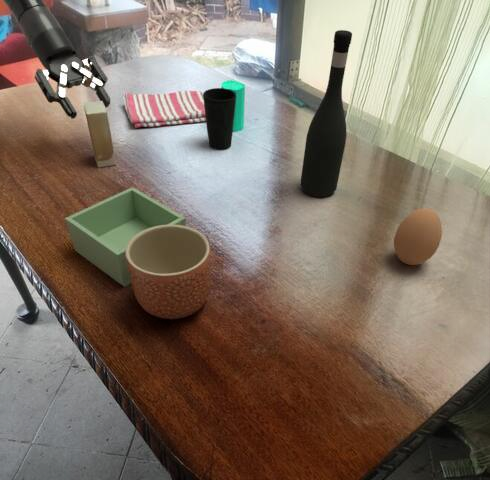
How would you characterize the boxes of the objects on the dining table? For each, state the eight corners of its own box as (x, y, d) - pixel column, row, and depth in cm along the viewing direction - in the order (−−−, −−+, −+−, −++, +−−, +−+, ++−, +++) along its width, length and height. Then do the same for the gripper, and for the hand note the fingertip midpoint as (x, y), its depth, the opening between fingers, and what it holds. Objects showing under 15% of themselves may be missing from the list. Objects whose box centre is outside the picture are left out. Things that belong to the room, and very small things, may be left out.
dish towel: (123, 105, 128) (121, 92, 125) (203, 97, 133) (202, 85, 131) (132, 130, 117) (130, 116, 114) (219, 121, 122) (219, 108, 120)
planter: (120, 300, 74) (107, 246, 66) (179, 267, 80) (174, 214, 72) (167, 342, 68) (159, 288, 60) (227, 303, 74) (227, 250, 66)
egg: (389, 272, 81) (407, 220, 73) (386, 246, 86) (402, 195, 78) (432, 277, 80) (455, 225, 73) (426, 251, 86) (447, 200, 78)
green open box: (124, 287, 76) (117, 255, 71) (74, 250, 82) (64, 218, 77) (188, 249, 84) (185, 217, 79) (137, 217, 90) (132, 186, 85)
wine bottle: (309, 176, 104) (332, 23, 82) (341, 186, 101) (373, 30, 79) (293, 191, 99) (313, 33, 77) (326, 202, 96) (356, 41, 74)
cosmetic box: (94, 155, 107) (82, 101, 98) (112, 153, 108) (102, 99, 99) (98, 168, 103) (85, 113, 94) (117, 165, 104) (107, 111, 95)
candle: (218, 123, 122) (218, 74, 113) (240, 121, 123) (241, 73, 114) (224, 132, 118) (224, 83, 109) (246, 130, 119) (248, 81, 110)
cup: (239, 140, 115) (240, 90, 106) (230, 154, 110) (230, 102, 101) (210, 136, 116) (209, 86, 107) (200, 149, 111) (198, 97, 102)
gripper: (18, 33, 88) (67, 111, 91) (80, 20, 96) (123, 92, 99) (13, 57, 94) (59, 129, 98) (72, 43, 102) (113, 110, 105)
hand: (91, 110), depth 98 cm, fingers open, 8 cm apart
